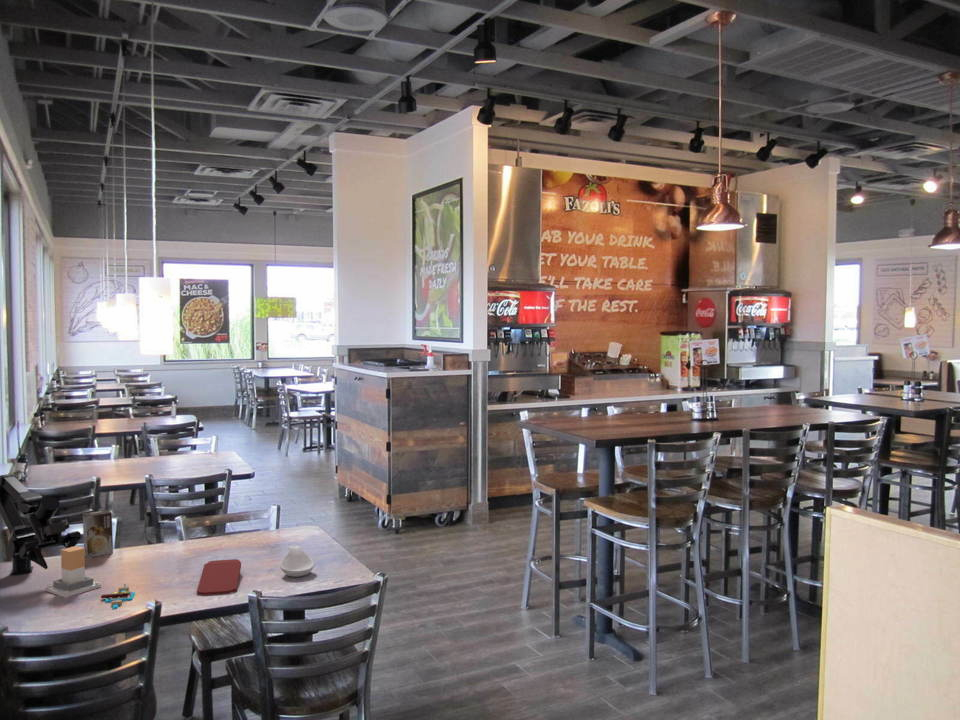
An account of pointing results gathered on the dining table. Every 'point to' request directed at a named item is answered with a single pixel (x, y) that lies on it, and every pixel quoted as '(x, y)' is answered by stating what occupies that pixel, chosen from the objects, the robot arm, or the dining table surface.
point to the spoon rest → (296, 562)
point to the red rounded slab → (219, 577)
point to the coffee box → (97, 533)
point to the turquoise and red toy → (121, 594)
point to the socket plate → (72, 587)
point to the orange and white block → (73, 565)
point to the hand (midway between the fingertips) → (60, 564)
